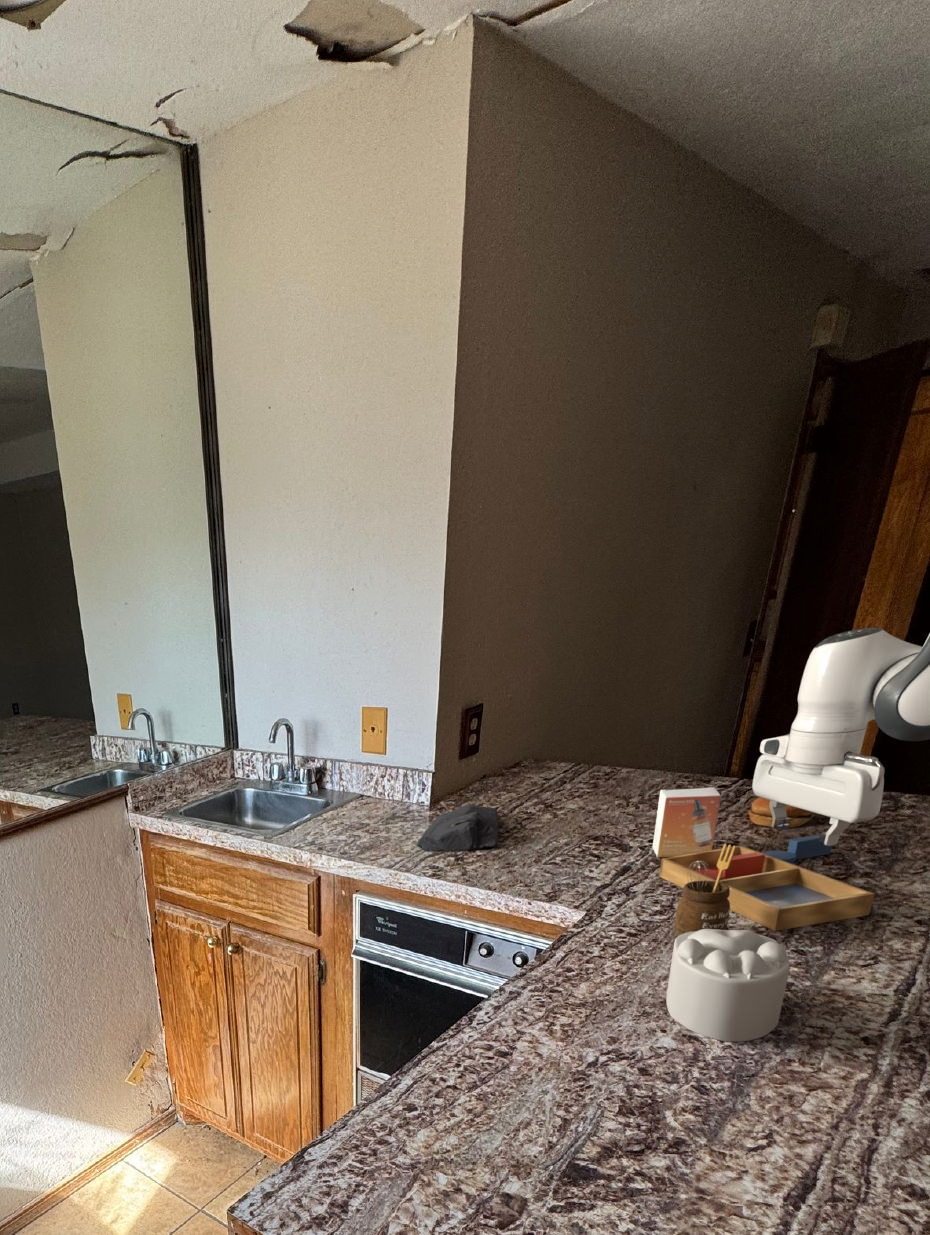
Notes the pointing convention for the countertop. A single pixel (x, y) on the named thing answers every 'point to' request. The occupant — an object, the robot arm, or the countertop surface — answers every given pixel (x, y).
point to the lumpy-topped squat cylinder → (727, 983)
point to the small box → (686, 821)
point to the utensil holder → (705, 901)
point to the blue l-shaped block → (801, 849)
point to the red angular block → (739, 866)
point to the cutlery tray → (775, 891)
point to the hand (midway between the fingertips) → (802, 836)
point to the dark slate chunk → (462, 830)
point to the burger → (763, 817)
